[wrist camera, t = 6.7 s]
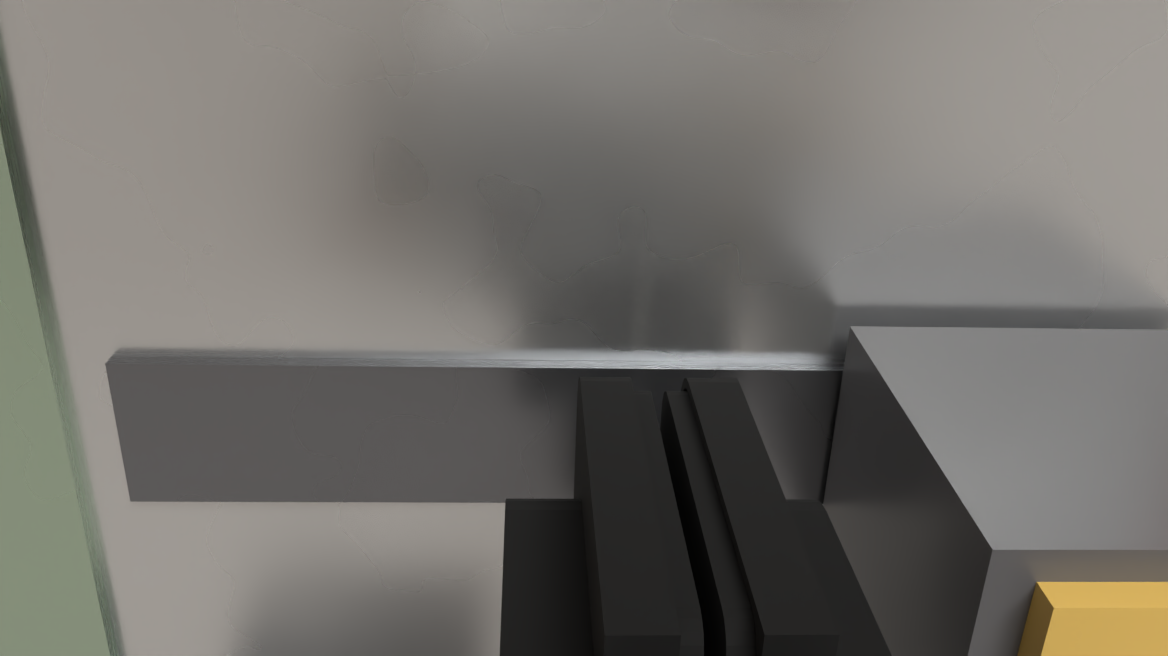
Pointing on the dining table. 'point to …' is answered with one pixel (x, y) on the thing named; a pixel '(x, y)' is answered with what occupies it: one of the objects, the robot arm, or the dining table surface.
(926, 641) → the block
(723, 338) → the panel
